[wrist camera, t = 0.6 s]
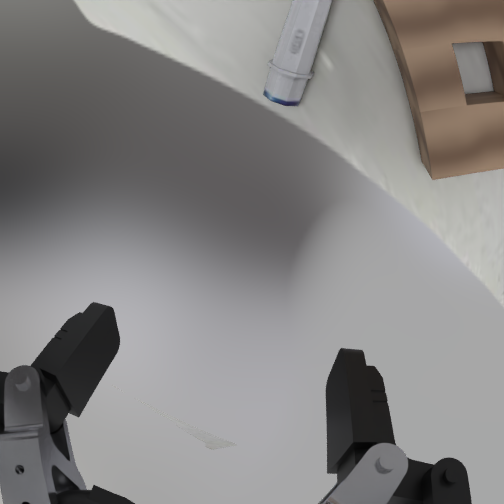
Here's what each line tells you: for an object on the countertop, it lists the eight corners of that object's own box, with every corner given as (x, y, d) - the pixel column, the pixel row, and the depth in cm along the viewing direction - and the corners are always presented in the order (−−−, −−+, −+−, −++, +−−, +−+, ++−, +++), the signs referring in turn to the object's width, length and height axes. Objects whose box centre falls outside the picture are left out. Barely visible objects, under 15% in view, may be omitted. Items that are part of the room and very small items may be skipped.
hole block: (368, -11, 20) (373, -21, 16) (496, -18, 13) (516, -23, 9) (421, 161, 30) (432, 180, 26) (531, 145, 23) (551, 161, 19)
